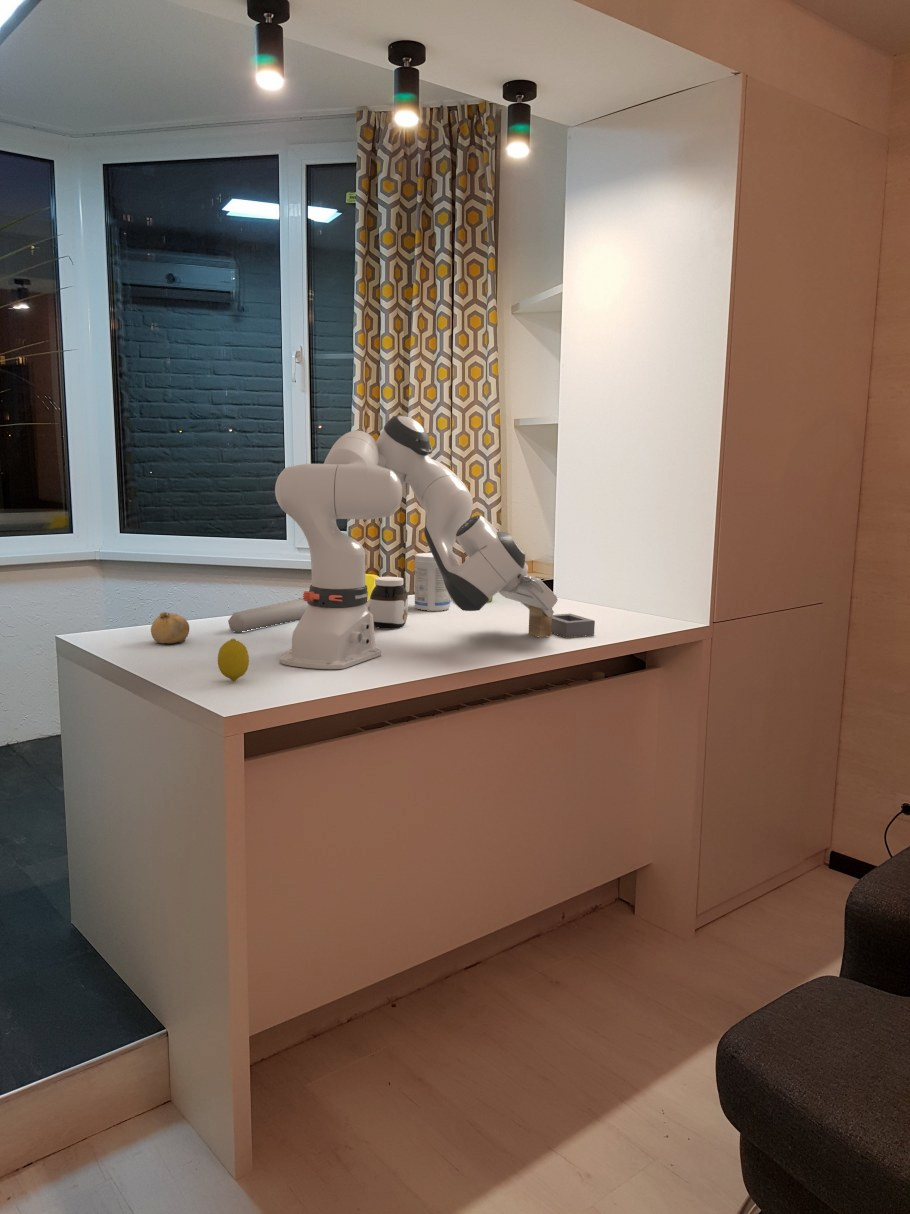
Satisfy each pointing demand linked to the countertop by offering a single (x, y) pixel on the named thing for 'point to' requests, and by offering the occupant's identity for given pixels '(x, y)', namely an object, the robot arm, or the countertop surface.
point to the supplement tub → (429, 585)
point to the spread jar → (388, 603)
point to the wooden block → (539, 622)
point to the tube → (268, 615)
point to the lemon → (233, 659)
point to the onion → (169, 628)
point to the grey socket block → (572, 625)
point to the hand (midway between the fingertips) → (542, 612)
